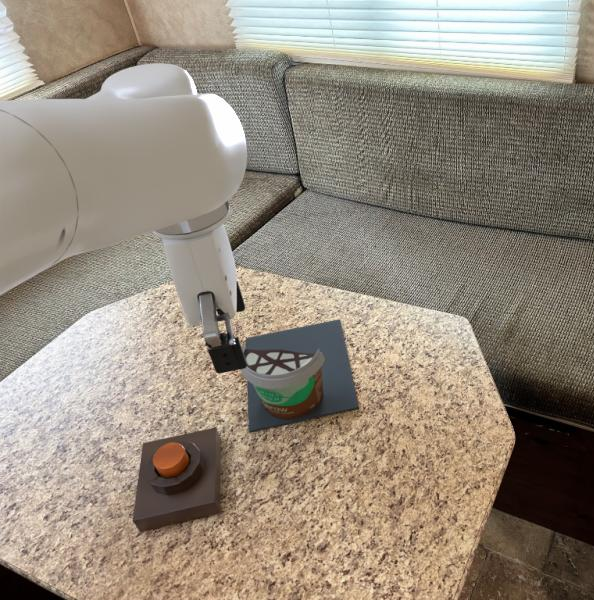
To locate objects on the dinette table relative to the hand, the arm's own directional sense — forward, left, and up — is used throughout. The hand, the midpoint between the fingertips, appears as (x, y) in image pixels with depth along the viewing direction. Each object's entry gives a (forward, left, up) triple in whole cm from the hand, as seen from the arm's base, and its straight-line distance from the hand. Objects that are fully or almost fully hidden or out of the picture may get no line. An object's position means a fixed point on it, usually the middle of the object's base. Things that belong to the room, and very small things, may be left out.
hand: (232, 338), depth 68 cm
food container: (+9, -2, -23) cm, 25 cm away
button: (0, +12, -19) cm, 23 cm away
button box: (0, +12, -23) cm, 26 cm away
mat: (+16, -5, -23) cm, 29 cm away
